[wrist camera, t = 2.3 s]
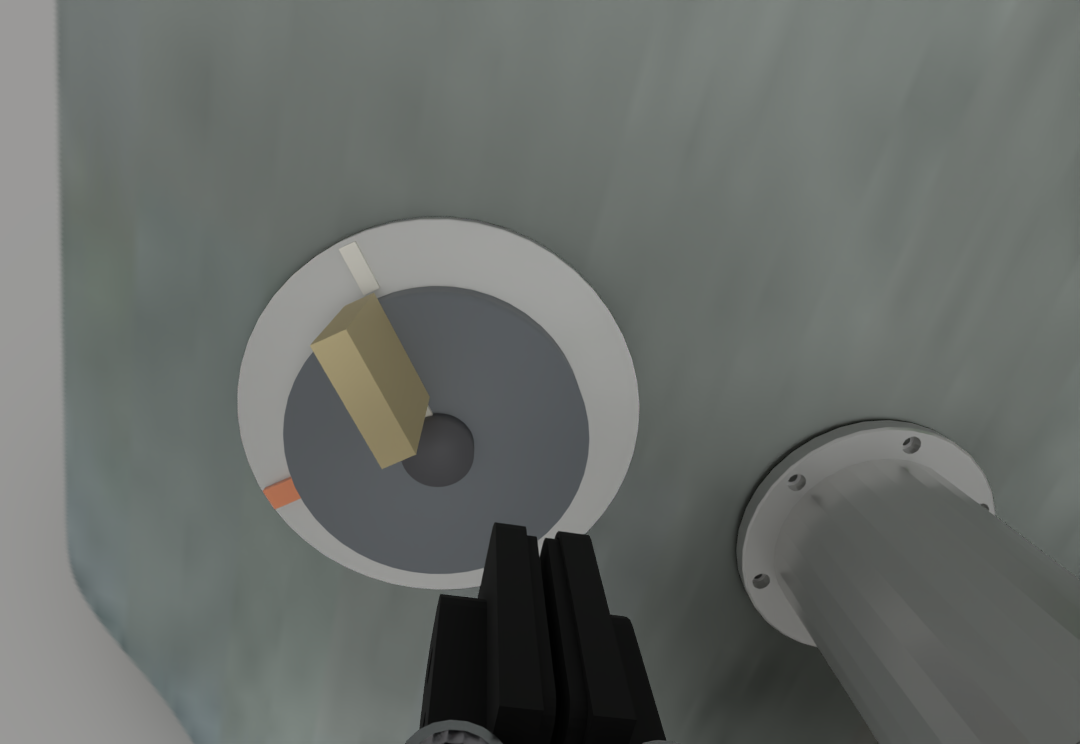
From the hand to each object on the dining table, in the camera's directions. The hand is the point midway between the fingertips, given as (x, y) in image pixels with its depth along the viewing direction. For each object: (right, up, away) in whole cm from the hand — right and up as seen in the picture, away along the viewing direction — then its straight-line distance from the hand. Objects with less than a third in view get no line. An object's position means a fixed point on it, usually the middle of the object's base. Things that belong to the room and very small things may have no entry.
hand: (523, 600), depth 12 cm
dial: (-4, +2, +17) cm, 17 cm away
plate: (-4, +2, +19) cm, 19 cm away
